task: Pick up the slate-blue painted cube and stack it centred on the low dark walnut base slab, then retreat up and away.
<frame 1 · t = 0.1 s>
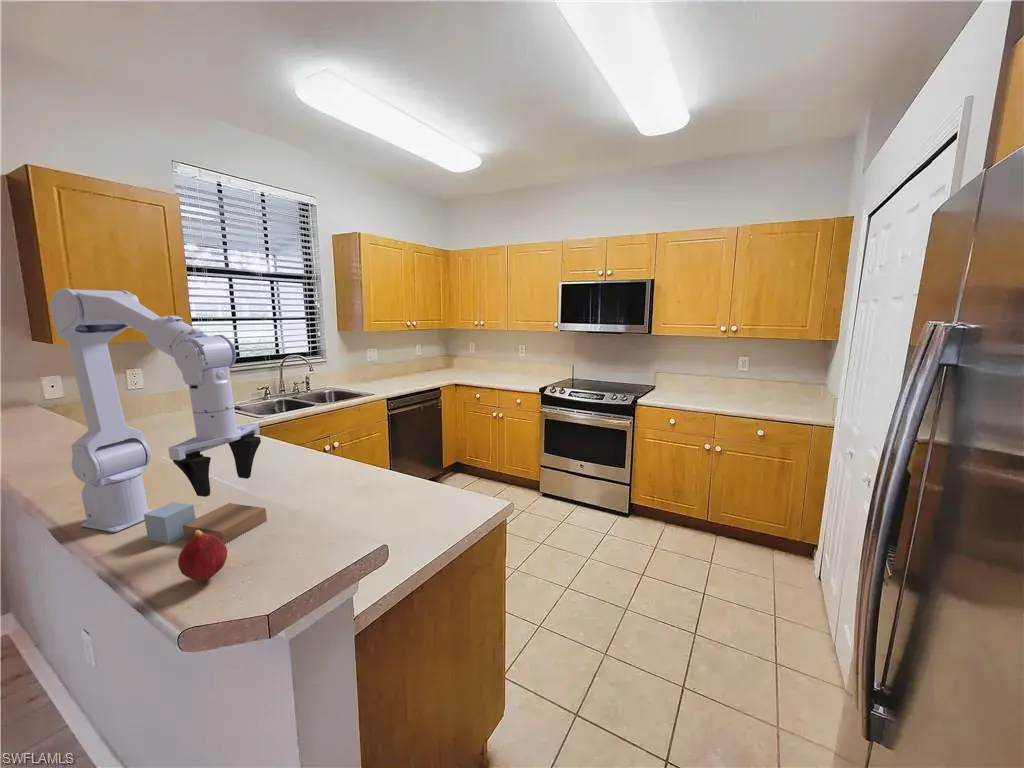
hand: (225, 486, 73), 10 cm above the countertop, tool pointing down, fingers open, 7 cm apart
onion: (207, 581, 63), on the countertop
base: (227, 531, 78), on the countertop
cube: (173, 535, 77), on the countertop
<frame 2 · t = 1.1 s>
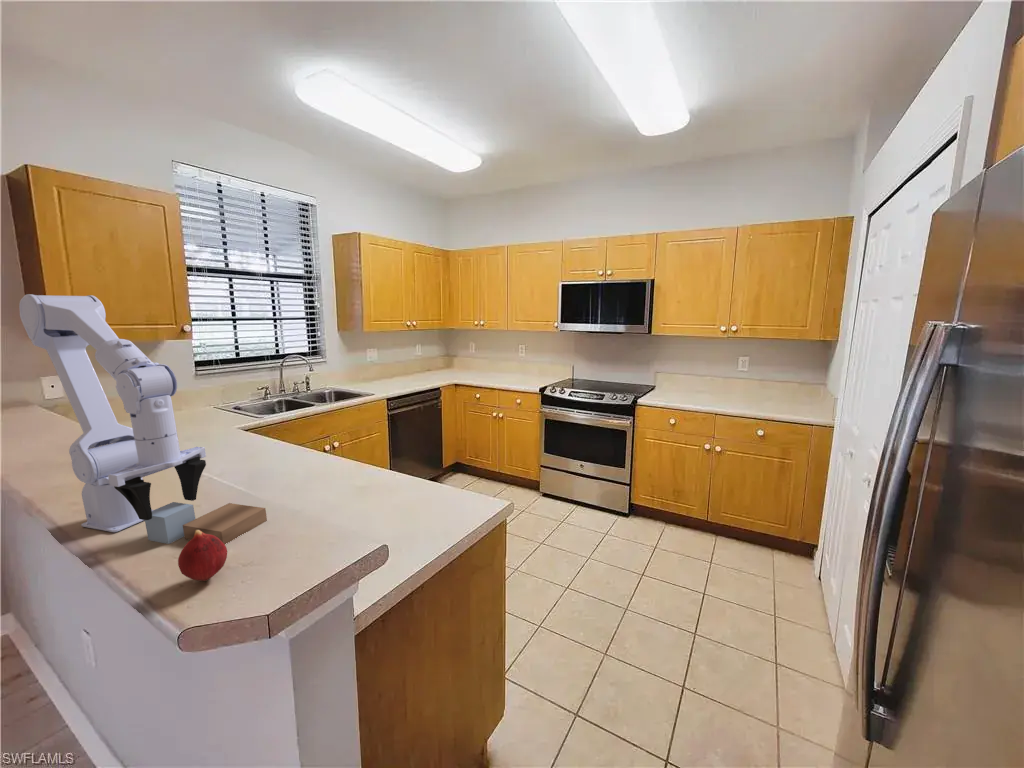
hand: (169, 508, 76), 5 cm above the countertop, tool pointing down, fingers open, 7 cm apart
nothing on the countertop moved.
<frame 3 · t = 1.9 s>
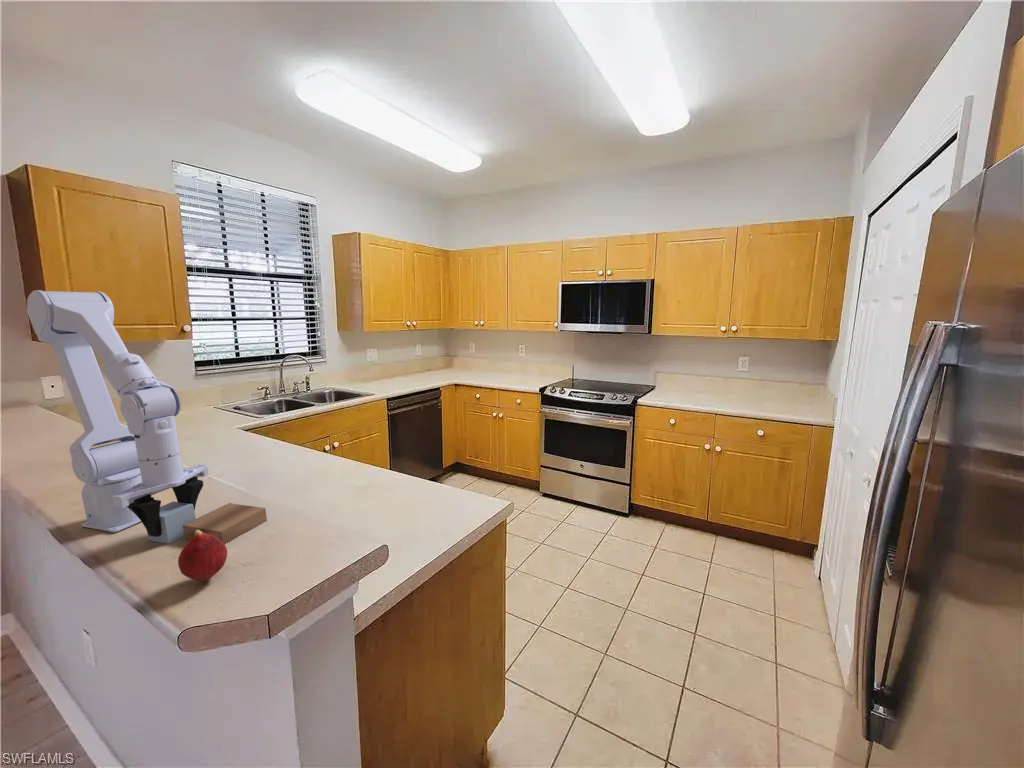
hand: (172, 527, 76), 1 cm above the countertop, tool pointing down, fingers closed on cube, 5 cm apart
cube: (173, 534, 77), on the countertop, touching gripper
everything else where it was.
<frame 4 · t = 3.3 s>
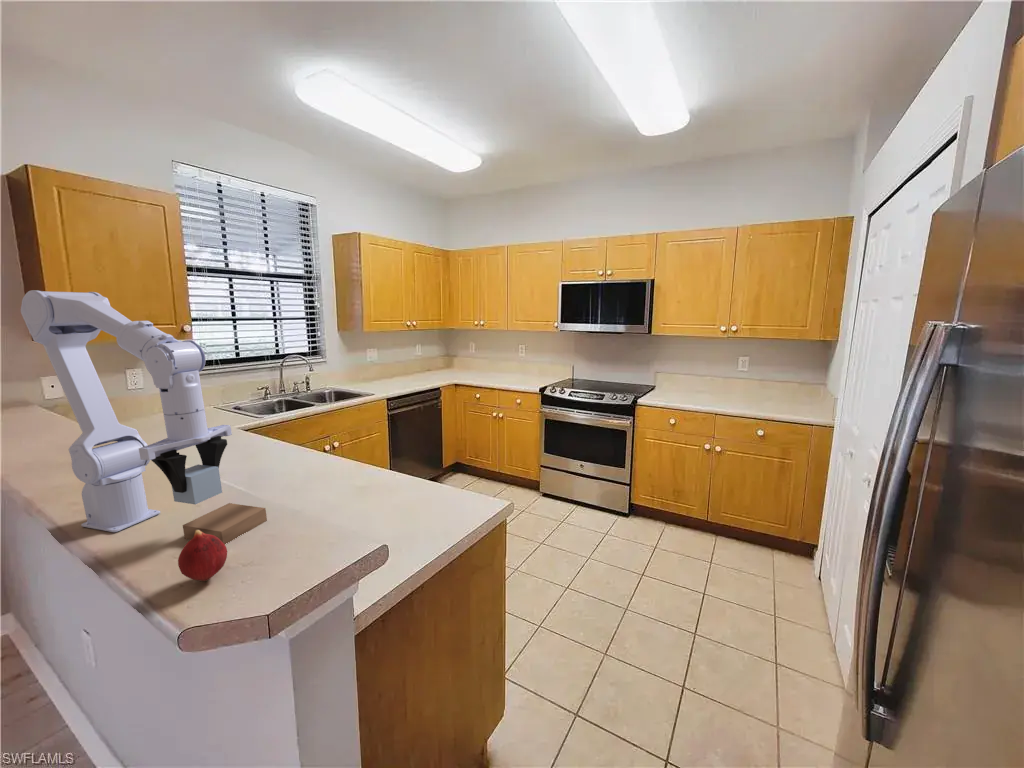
hand: (196, 485, 76), 9 cm above the countertop, tool pointing down, fingers closed on cube, 5 cm apart
cube: (198, 496, 76), point 7 cm above the countertop, touching gripper
everything else where it was.
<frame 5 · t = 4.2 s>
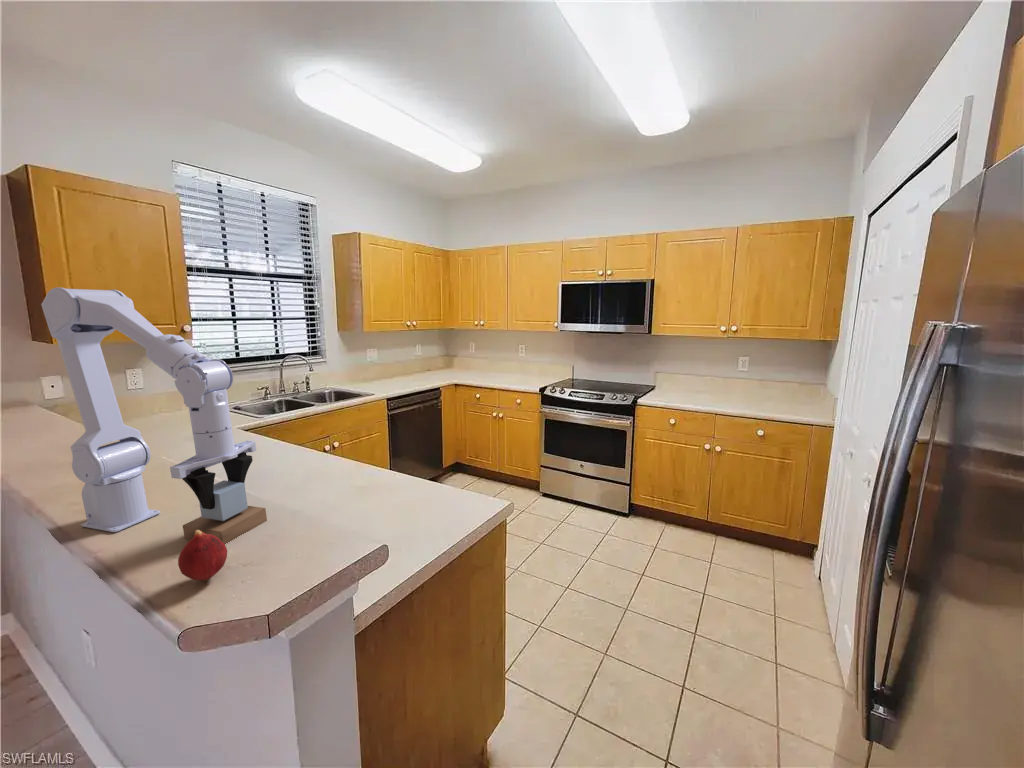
hand: (223, 501, 77), 6 cm above the countertop, tool pointing down, fingers closed on cube, 5 cm apart
cube: (225, 512, 78), point 3 cm above the countertop, touching gripper
everything else where it was.
when the fingers open (5 cm above the countertop, at t = 4.7 s): cube stays where it is, resting on base.
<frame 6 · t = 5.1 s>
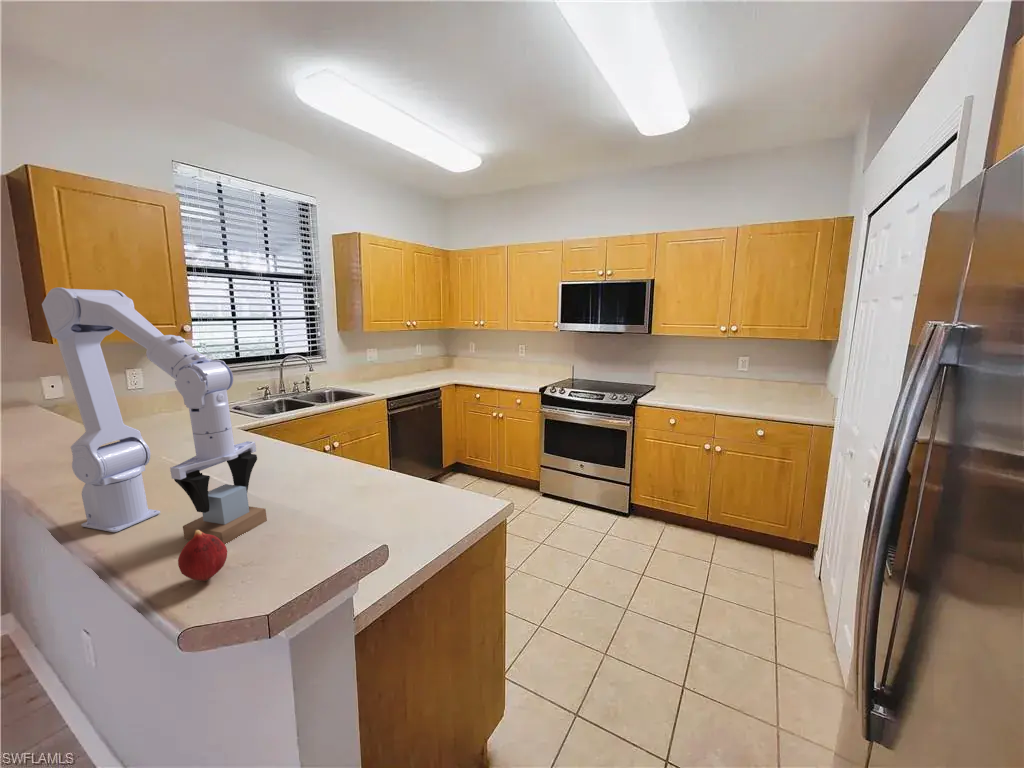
hand: (223, 501, 77), 5 cm above the countertop, tool pointing down, fingers open, 7 cm apart
base: (227, 532, 78), on the countertop, touching cube
cube: (226, 516, 78), point 2 cm above the countertop, touching base
everything else where it was.
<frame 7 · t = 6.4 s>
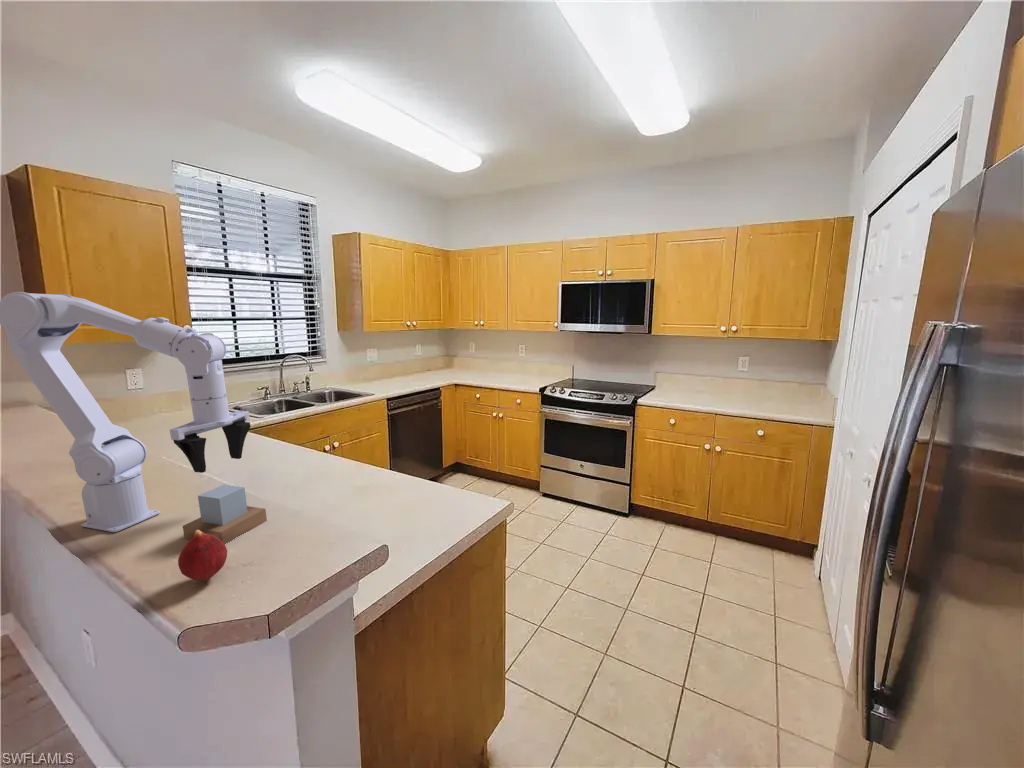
hand: (218, 464, 84), 10 cm above the countertop, tool pointing down, fingers open, 7 cm apart
nothing on the countertop moved.
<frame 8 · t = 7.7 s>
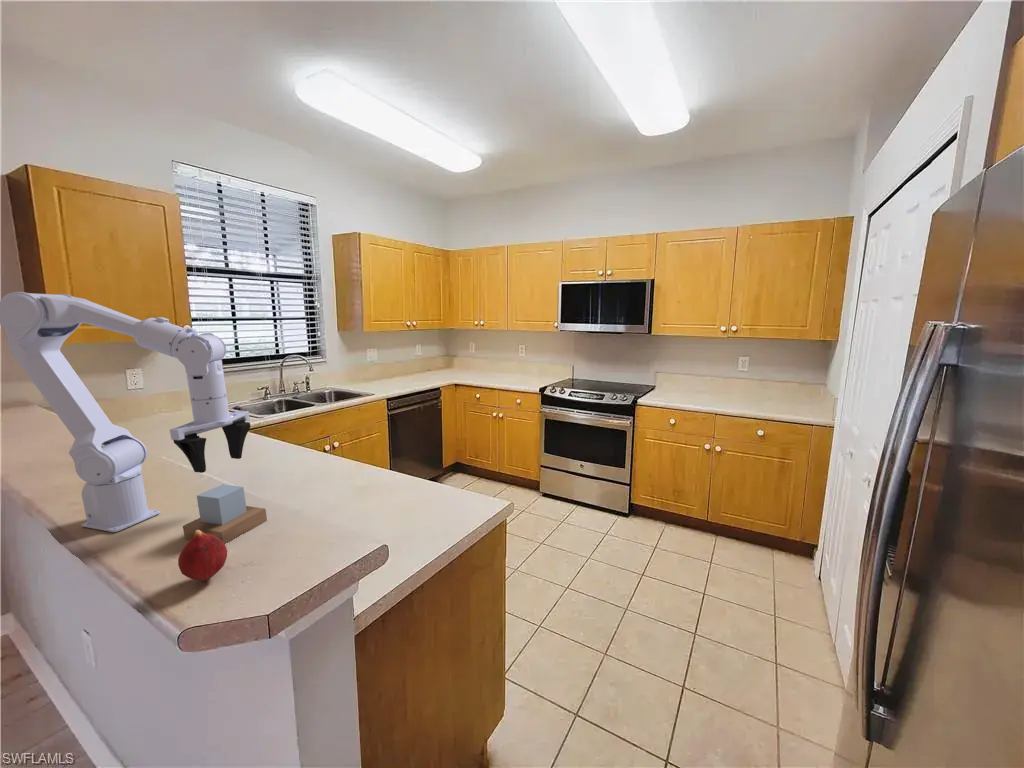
hand: (219, 464, 84), 10 cm above the countertop, tool pointing down, fingers open, 7 cm apart
base: (227, 532, 78), on the countertop
cube: (224, 516, 78), point 2 cm above the countertop
everything else where it was.
at the end: cube 0.3 cm off-centre on the base, point 3.0 cm above the base's base; cube tilted 0°; the gripper is holding nothing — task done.
